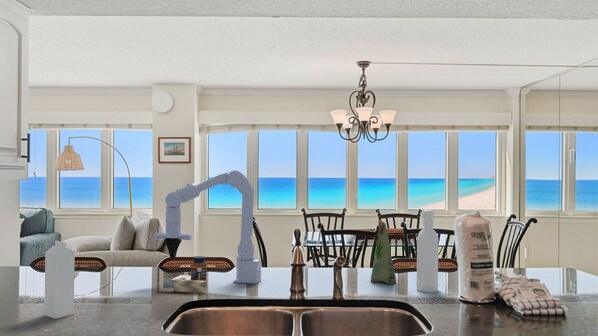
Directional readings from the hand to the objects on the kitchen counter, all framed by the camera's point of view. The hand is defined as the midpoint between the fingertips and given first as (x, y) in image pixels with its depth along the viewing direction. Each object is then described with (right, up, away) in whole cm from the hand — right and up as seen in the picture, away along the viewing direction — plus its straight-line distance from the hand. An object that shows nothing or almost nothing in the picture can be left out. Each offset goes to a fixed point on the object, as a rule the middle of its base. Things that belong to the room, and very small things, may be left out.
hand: (172, 257), depth 202 cm
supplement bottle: (+12, -10, -8) cm, 17 cm away
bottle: (+97, -11, -7) cm, 98 cm away
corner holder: (+11, -10, -13) cm, 19 cm away
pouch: (+82, -11, +6) cm, 83 cm away
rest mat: (+4, -9, +6) cm, 12 cm away
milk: (-23, -9, -47) cm, 53 cm away
